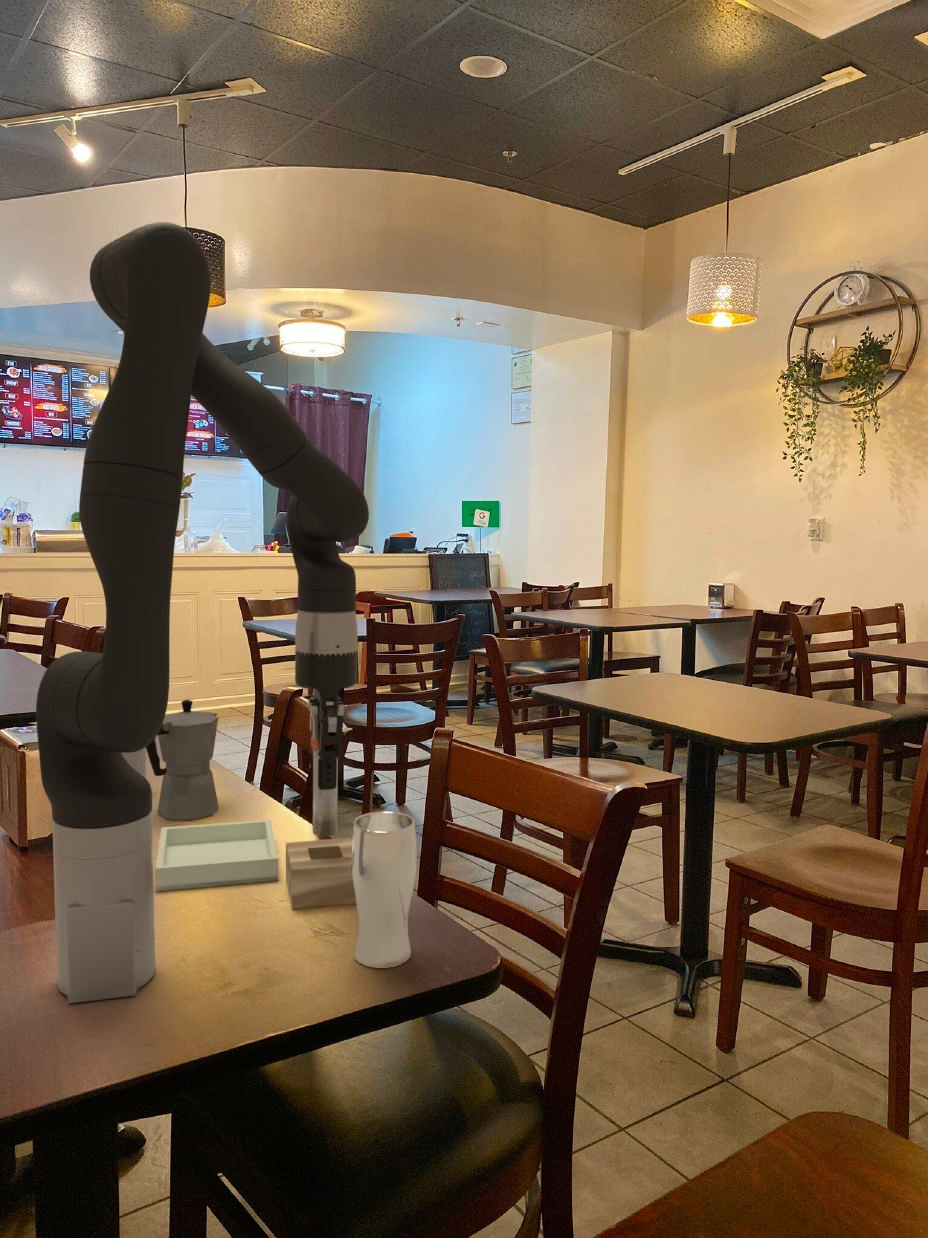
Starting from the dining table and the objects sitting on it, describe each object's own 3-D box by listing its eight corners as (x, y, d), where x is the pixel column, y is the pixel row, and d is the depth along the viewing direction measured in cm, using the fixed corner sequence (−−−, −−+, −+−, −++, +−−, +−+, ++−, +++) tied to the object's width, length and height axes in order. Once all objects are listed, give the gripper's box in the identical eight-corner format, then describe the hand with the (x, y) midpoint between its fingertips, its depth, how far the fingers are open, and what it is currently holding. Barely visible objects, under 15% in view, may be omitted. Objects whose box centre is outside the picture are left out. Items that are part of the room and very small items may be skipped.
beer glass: (343, 945, 98) (344, 814, 96) (404, 936, 100) (406, 808, 99) (358, 976, 91) (360, 836, 90) (423, 965, 94) (425, 829, 92)
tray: (278, 880, 115) (278, 858, 114) (155, 891, 111) (155, 868, 110) (270, 839, 129) (270, 819, 129) (162, 848, 125) (161, 827, 125)
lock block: (366, 902, 109) (366, 863, 108) (292, 909, 106) (292, 869, 106) (354, 873, 117) (355, 837, 117) (286, 880, 115) (285, 842, 114)
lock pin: (341, 836, 110) (342, 740, 108) (311, 838, 109) (312, 742, 107) (337, 826, 113) (338, 734, 112) (308, 828, 112) (309, 735, 111)
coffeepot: (194, 795, 148) (192, 690, 146) (239, 804, 144) (238, 696, 142) (123, 823, 134) (120, 707, 132) (171, 834, 131) (169, 714, 128)
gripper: (366, 655, 103) (364, 800, 104) (348, 639, 116) (347, 768, 118) (300, 656, 101) (300, 804, 102) (290, 639, 114) (290, 770, 116)
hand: (325, 783), depth 110 cm, fingers closed on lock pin, 3 cm apart
